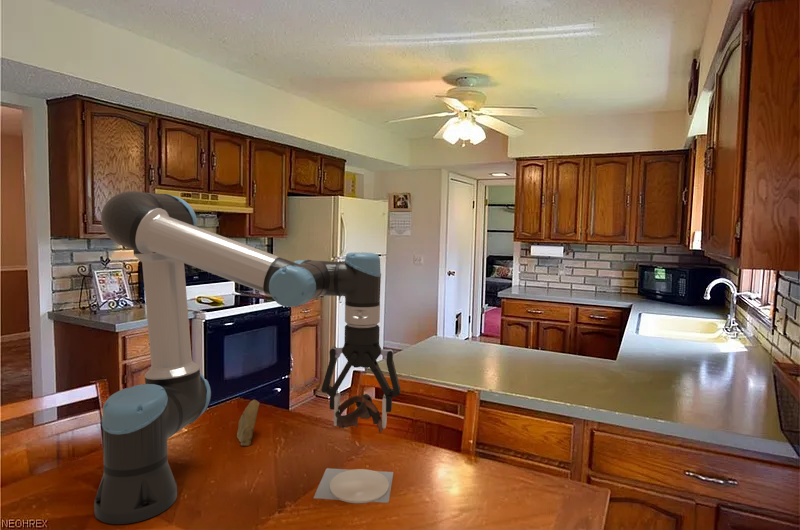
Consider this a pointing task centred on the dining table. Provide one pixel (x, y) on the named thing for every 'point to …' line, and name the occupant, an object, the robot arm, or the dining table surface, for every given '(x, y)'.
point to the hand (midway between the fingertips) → (360, 424)
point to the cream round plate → (359, 486)
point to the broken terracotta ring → (358, 412)
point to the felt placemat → (329, 474)
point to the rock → (247, 423)
